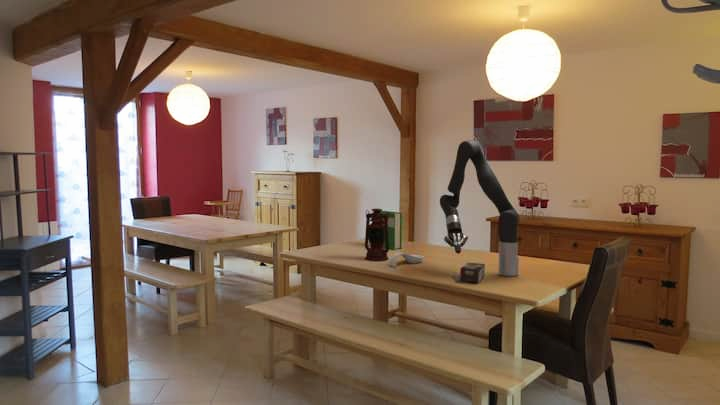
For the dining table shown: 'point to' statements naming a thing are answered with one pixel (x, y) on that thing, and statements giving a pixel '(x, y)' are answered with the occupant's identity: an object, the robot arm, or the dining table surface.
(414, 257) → the spoon rest
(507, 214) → the robot arm
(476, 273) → the coffee box
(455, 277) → the mat
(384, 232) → the lantern
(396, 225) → the hardback book
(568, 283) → the dining table surface
